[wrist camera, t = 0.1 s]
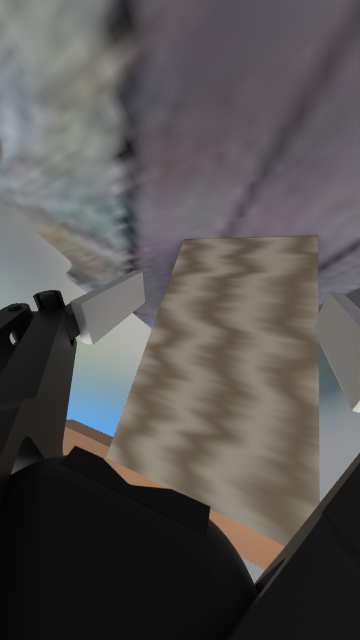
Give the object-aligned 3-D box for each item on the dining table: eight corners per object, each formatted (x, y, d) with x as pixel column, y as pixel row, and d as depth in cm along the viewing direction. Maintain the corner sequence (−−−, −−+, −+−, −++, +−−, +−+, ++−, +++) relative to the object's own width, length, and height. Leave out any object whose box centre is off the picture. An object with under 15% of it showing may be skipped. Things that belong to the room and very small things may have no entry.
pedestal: (196, 278, 39) (147, 445, 28) (183, 239, 30) (106, 457, 19) (297, 284, 32) (287, 504, 21) (317, 235, 24) (319, 563, 13)
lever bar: (72, 419, 29) (63, 441, 28) (50, 419, 26) (38, 444, 25) (294, 516, 18) (293, 558, 17) (306, 539, 15) (305, 592, 14)
